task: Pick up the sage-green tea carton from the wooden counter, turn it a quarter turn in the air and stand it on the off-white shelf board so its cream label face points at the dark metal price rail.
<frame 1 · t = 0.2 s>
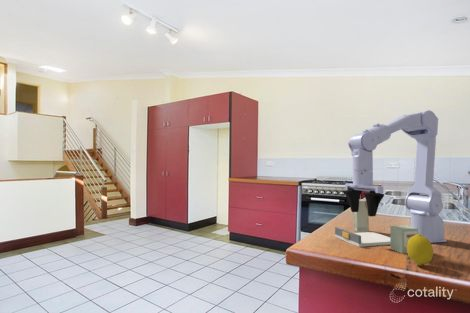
hand: (363, 213, 84), 10 cm above the counter, tool pointing down, fingers open, 7 cm apart
lemon: (419, 266, 68), on the counter
skincare box: (360, 232, 103), on the counter
shelf board: (366, 240, 91), on the counter
tea carton: (404, 250, 80), on the counter
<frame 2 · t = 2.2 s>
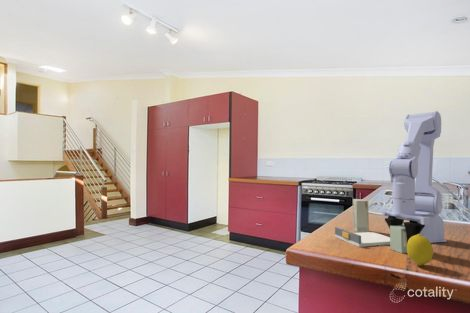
hand: (404, 244, 80), 2 cm above the counter, tool pointing down, fingers closed on tea carton, 4 cm apart
tea carton: (403, 250, 80), on the counter, touching gripper
everything else where it was.
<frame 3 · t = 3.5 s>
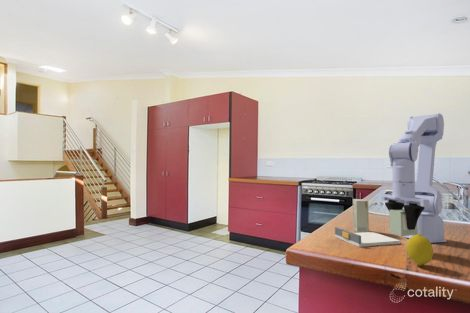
hand: (404, 227, 80), 7 cm above the counter, tool pointing down, fingers closed on tea carton, 4 cm apart
tea carton: (403, 233, 80), point 5 cm above the counter, touching gripper
everything else where it was.
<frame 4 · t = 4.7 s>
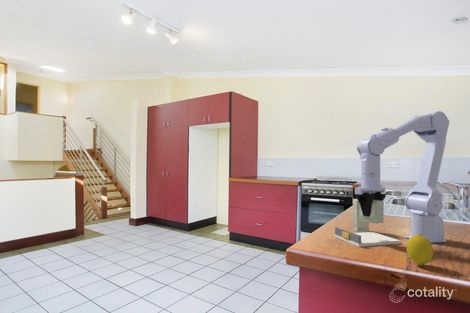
hand: (370, 215, 88), 9 cm above the counter, tool pointing down, fingers closed on tea carton, 4 cm apart
tea carton: (371, 221, 88), point 7 cm above the counter, touching gripper
everything else where it was.
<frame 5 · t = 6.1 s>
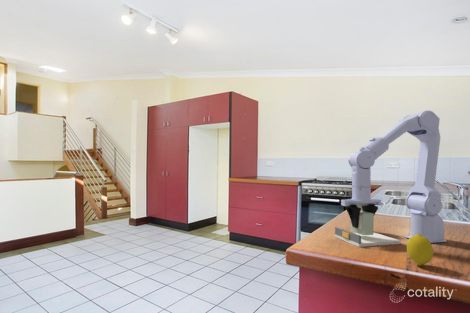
hand: (361, 226, 91), 5 cm above the counter, tool pointing down, fingers closed on tea carton, 4 cm apart
tea carton: (361, 232, 90), point 3 cm above the counter, touching gripper
everything else where it was.
when the fingers open (4 cm above the counter, at t = 7.0 s): tea carton drops 1 cm, resting on shelf board.
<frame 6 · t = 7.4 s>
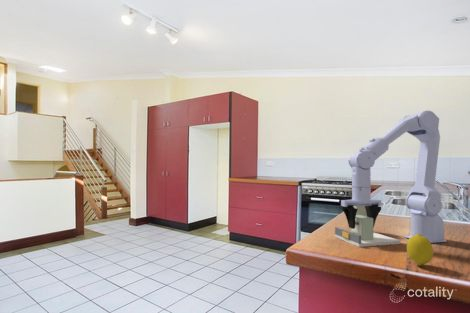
hand: (361, 227, 91), 4 cm above the counter, tool pointing down, fingers open, 7 cm apart
tea carton: (361, 237, 90), point 1 cm above the counter, touching shelf board
everything else where it was.
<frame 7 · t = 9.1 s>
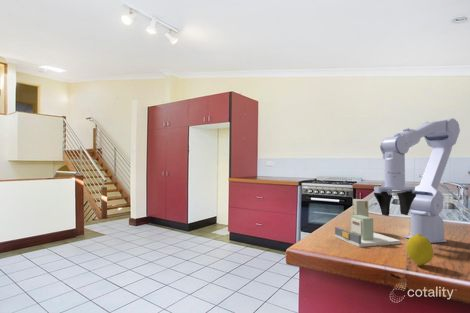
hand: (395, 215, 87), 9 cm above the counter, tool pointing down, fingers open, 7 cm apart
nothing on the counter moved.
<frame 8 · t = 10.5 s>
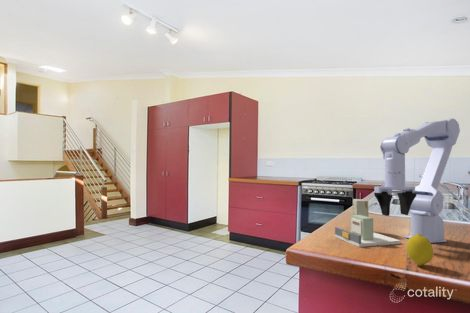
hand: (395, 214, 87), 9 cm above the counter, tool pointing down, fingers open, 7 cm apart
nothing on the counter moved.
at the end: tea carton inside the target area on the shelf board (0.4 cm from its centre), point 1.0 cm above the shelf board's base; tea carton tilted 0°; the gripper is holding nothing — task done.
